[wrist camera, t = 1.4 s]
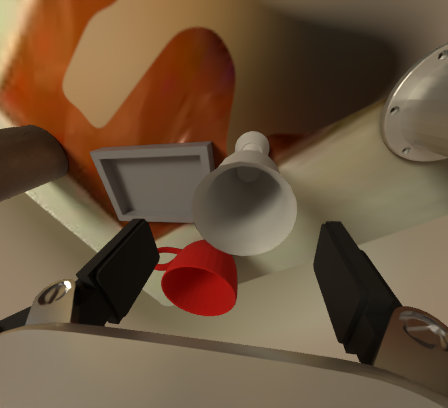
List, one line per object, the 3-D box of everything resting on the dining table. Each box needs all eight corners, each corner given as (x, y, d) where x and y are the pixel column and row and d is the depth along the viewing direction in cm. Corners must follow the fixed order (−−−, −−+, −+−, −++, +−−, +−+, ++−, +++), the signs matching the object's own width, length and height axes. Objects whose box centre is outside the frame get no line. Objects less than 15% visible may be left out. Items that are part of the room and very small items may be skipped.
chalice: (265, 177, 29) (271, 266, 14) (224, 166, 29) (185, 240, 14) (283, 130, 26) (319, 180, 10) (236, 117, 26) (201, 146, 10)
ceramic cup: (174, 207, 35) (147, 242, 27) (253, 244, 36) (251, 289, 28) (159, 249, 42) (133, 288, 33) (226, 279, 43) (217, 324, 35)
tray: (211, 141, 28) (206, 145, 25) (219, 214, 34) (216, 223, 32) (103, 147, 31) (89, 151, 29) (128, 212, 38) (119, 220, 35)
